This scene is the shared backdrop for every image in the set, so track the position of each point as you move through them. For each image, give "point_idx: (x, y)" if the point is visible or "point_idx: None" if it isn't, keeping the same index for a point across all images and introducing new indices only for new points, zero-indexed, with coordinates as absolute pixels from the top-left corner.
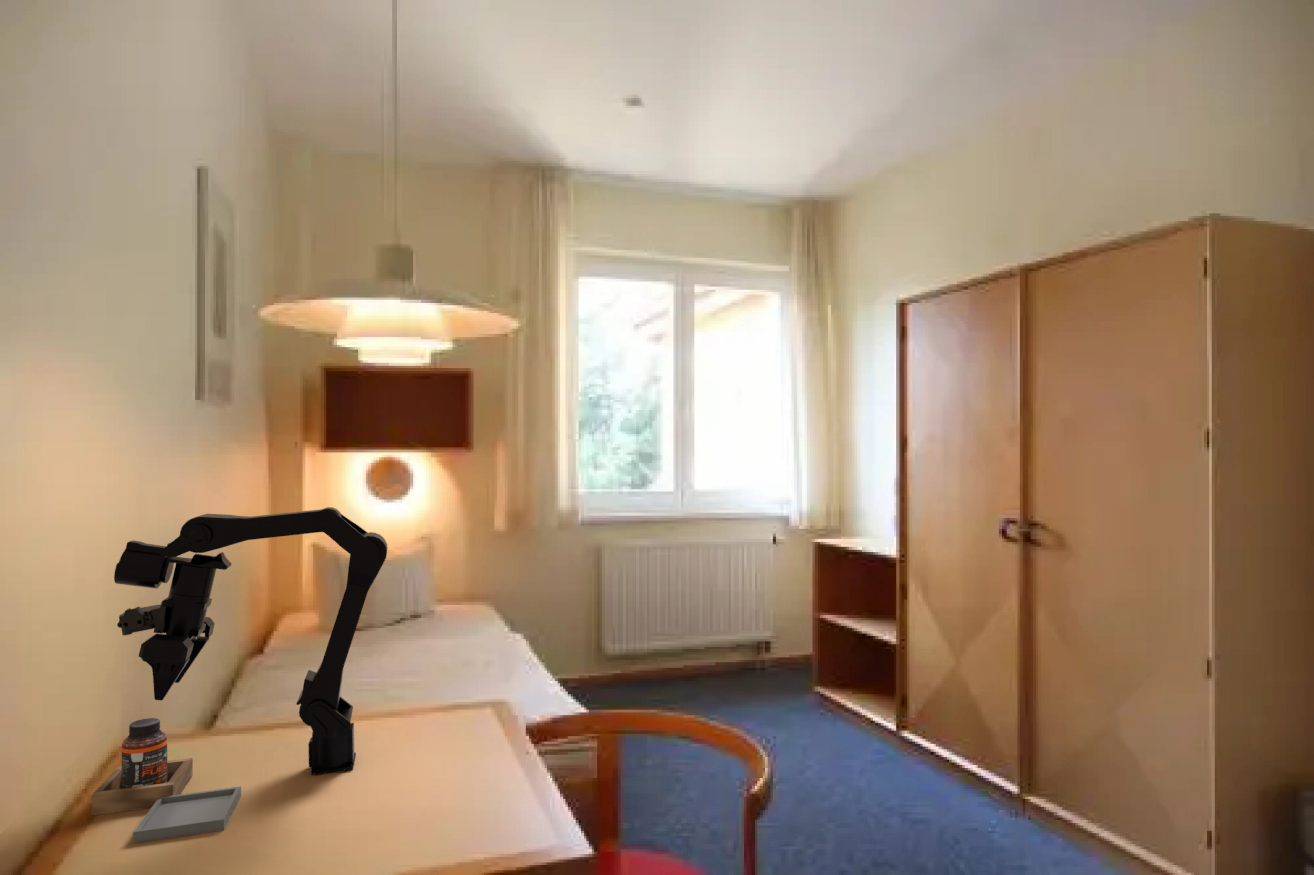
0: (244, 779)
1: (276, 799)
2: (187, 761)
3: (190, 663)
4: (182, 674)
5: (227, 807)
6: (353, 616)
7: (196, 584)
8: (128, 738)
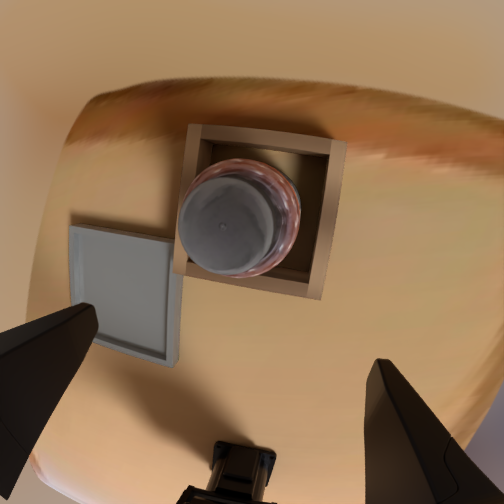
0: (251, 368)
1: (151, 394)
2: (301, 291)
3: (368, 487)
4: (366, 421)
5: (104, 343)
6: None
7: None
8: (212, 178)
